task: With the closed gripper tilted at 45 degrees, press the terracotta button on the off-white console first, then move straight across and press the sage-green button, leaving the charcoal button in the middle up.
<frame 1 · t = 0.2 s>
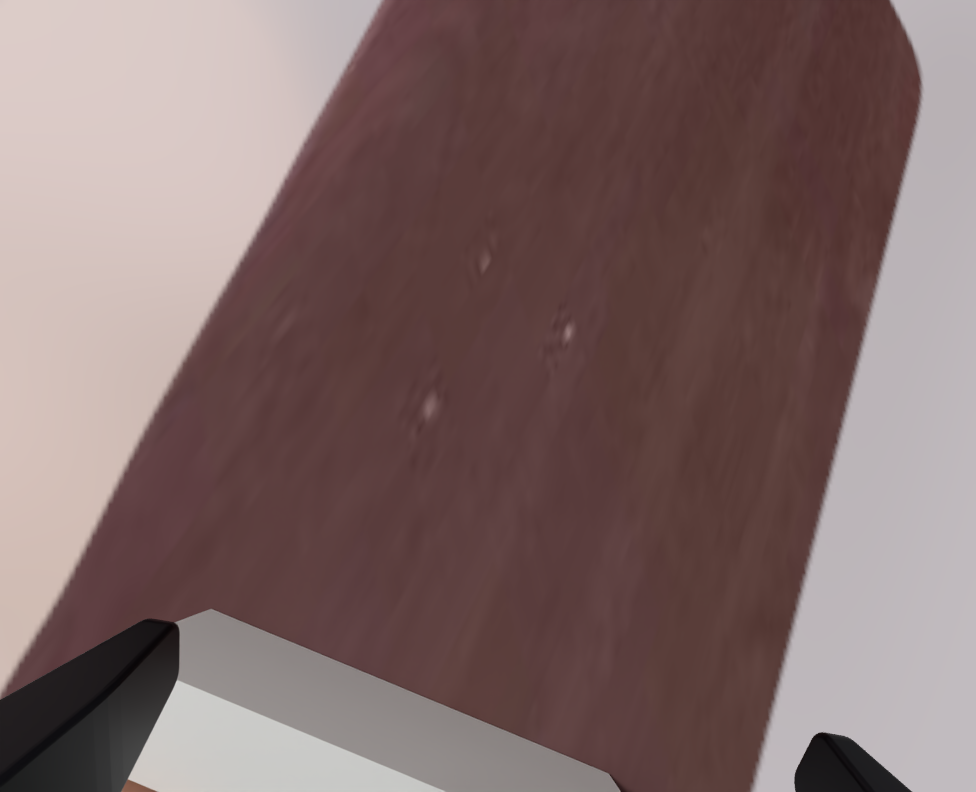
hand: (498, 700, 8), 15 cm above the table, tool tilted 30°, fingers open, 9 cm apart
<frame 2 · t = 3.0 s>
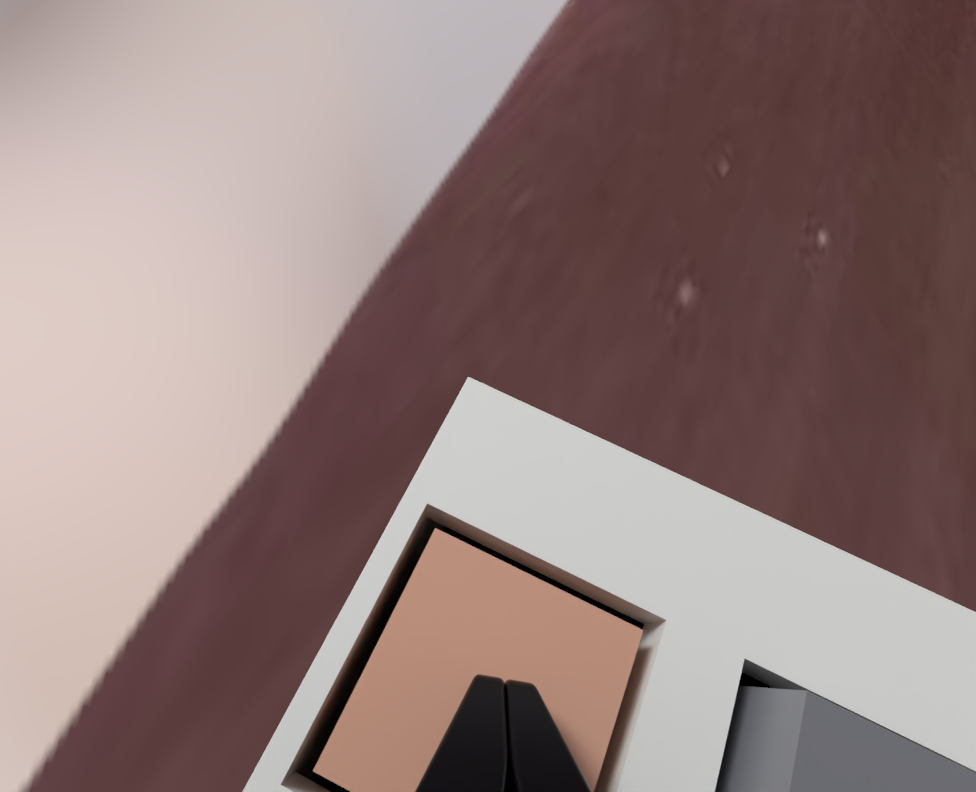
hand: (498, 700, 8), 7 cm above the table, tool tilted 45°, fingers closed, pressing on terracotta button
terracotta button: (481, 691, 9), point 6 cm above the table, slide at 1.2 cm, touching gripper
button console: (659, 784, 14), on the table
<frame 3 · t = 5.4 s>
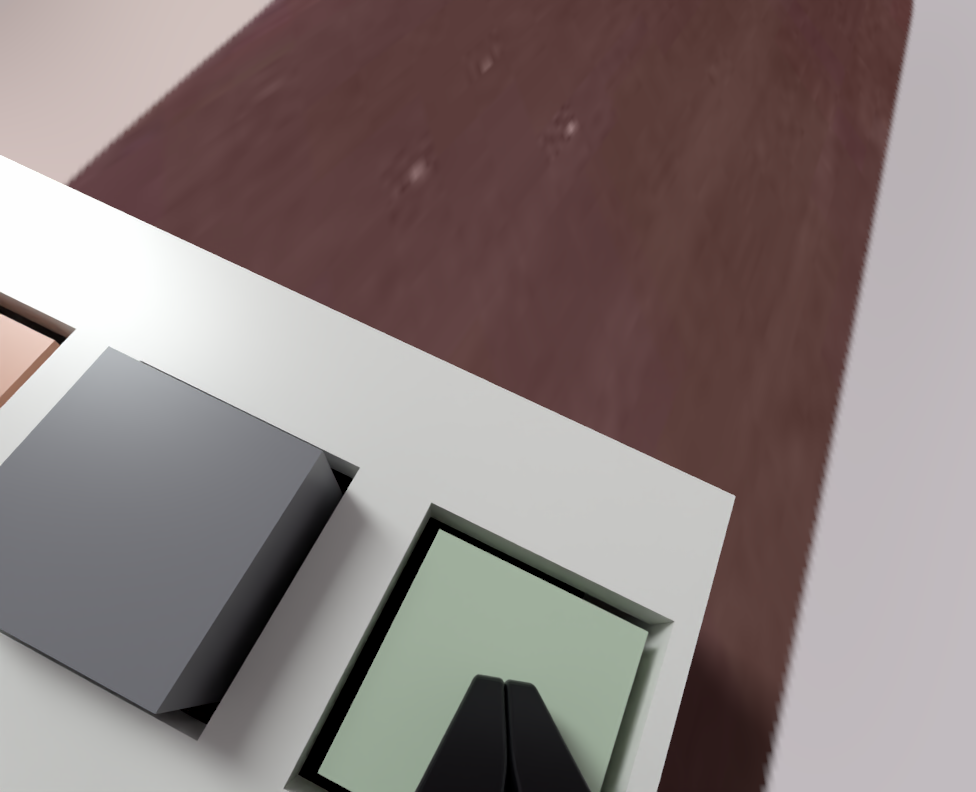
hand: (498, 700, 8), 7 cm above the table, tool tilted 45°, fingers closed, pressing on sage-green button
charcoal button: (165, 527, 9), point 7 cm above the table, slide at 0.0 cm
sage-green button: (486, 693, 9), point 6 cm above the table, slide at 1.3 cm, touching gripper
button console: (272, 583, 15), on the table
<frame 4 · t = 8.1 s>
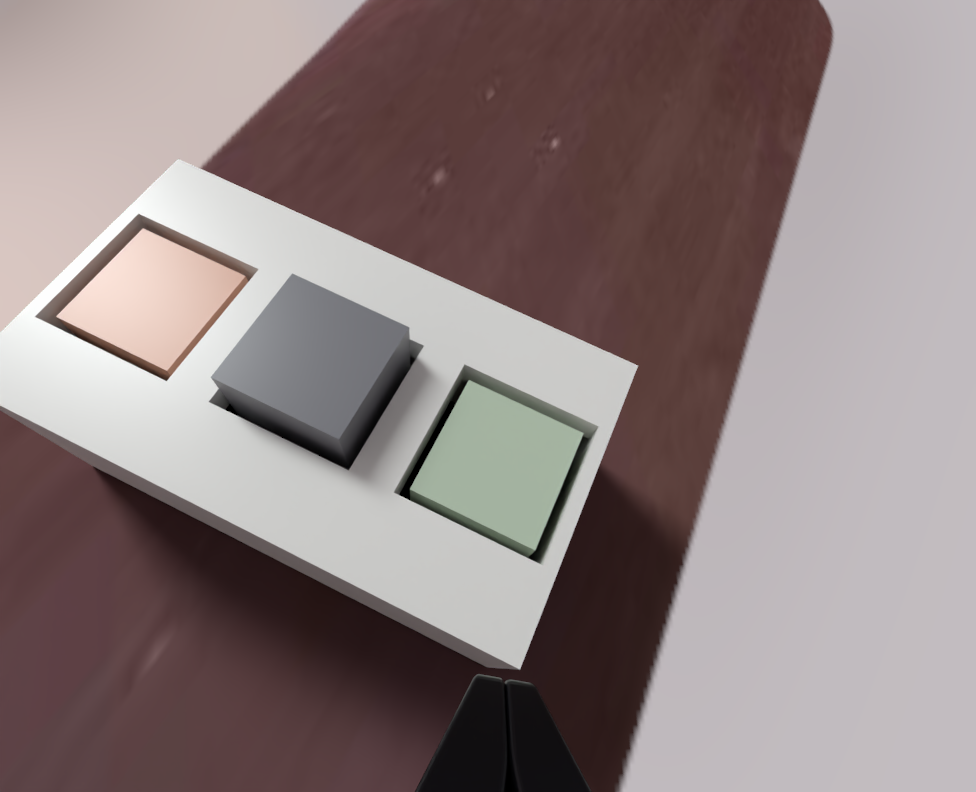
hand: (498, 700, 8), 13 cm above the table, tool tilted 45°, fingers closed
charcoal button: (321, 372, 16), point 7 cm above the table, slide at 0.0 cm
terracotta button: (170, 318, 18), point 6 cm above the table, slide at 1.4 cm
sage-green button: (494, 473, 17), point 6 cm above the table, slide at 1.4 cm
button console: (348, 455, 22), on the table
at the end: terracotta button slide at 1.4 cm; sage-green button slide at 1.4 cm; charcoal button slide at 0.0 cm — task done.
